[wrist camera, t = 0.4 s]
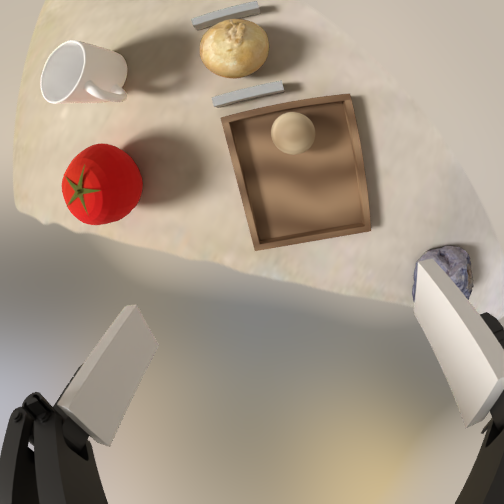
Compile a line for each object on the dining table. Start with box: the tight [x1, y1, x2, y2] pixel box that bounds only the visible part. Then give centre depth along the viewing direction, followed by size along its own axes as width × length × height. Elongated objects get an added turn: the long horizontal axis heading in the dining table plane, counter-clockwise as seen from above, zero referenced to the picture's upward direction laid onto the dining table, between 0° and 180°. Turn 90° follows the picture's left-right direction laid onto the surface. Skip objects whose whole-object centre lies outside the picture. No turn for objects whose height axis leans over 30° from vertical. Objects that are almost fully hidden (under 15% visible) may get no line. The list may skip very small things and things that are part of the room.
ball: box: [271, 112, 315, 155], centre depth 29 cm, size 5×5×5 cm
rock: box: [412, 246, 473, 303], centre depth 33 cm, size 11×10×10 cm
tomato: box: [62, 144, 143, 225], centre depth 31 cm, size 10×11×11 cm
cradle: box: [191, 1, 284, 108], centre depth 26 cm, size 13×8×2 cm, turn 14°
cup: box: [41, 40, 127, 103], centre depth 25 cm, size 8×12×10 cm
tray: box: [221, 94, 371, 251], centre depth 32 cm, size 18×16×2 cm
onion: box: [200, 19, 269, 78], centre depth 24 cm, size 8×8×7 cm
